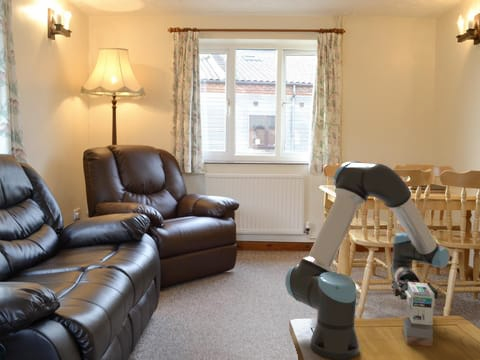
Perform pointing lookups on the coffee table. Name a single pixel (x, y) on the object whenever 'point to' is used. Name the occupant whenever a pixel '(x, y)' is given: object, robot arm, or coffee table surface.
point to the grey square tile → (417, 329)
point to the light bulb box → (420, 303)
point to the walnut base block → (416, 340)
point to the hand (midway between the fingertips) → (421, 302)
